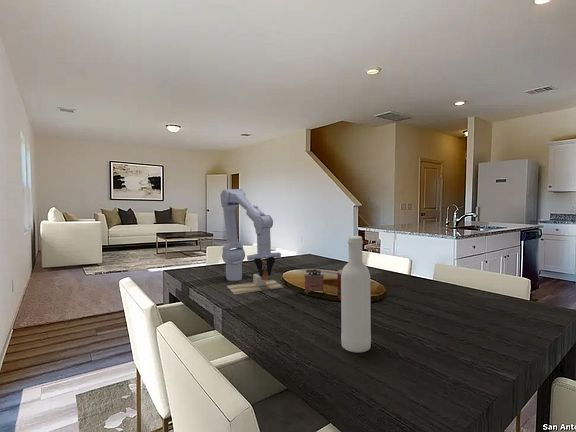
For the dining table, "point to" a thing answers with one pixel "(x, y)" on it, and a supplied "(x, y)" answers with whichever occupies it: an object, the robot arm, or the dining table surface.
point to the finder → (258, 280)
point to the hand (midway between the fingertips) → (264, 275)
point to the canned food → (339, 283)
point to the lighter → (313, 280)
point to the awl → (264, 274)
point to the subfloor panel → (253, 287)
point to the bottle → (355, 300)
